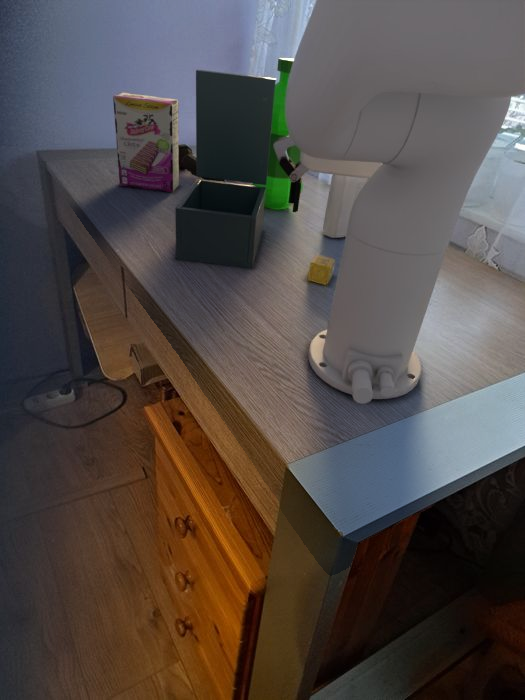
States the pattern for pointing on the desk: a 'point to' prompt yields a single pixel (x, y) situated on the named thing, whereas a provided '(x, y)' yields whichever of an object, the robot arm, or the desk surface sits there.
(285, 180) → the plastic bottle
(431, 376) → the desk surface
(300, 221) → the desk surface
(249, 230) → the dark green open box
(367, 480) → the desk surface
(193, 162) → the microphone
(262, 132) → the lid
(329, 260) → the alphabet block
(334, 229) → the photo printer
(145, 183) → the candy bar box
